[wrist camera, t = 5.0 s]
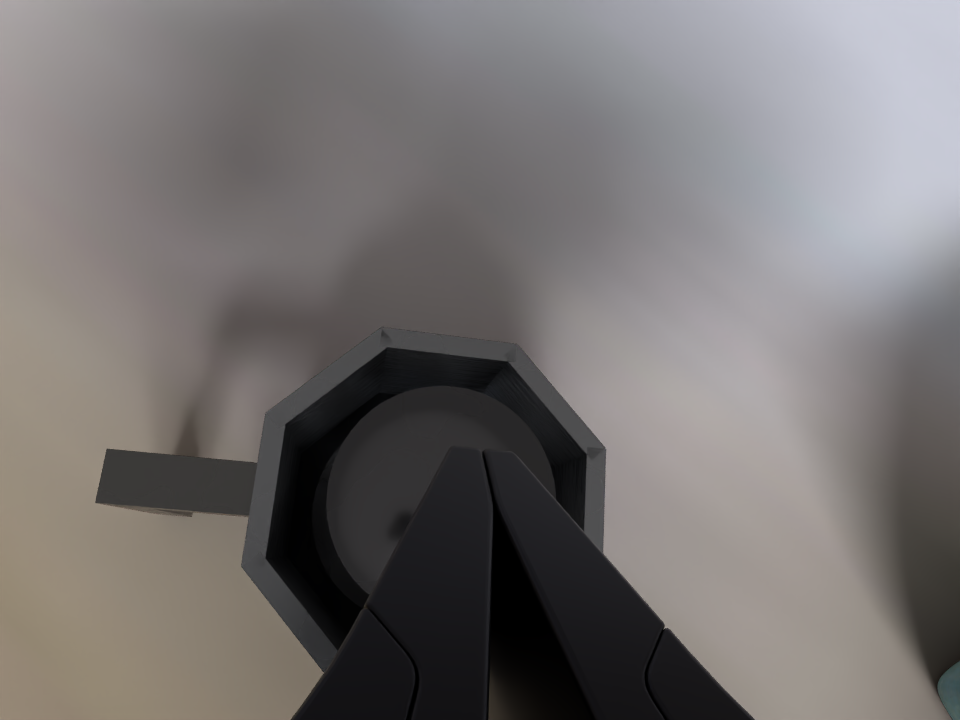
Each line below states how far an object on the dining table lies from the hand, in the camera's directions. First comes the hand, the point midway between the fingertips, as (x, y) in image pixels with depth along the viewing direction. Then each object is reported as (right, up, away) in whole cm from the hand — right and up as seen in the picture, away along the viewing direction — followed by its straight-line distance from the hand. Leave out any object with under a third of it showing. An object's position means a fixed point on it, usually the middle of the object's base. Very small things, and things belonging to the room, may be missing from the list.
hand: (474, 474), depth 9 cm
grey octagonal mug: (-3, -2, +9) cm, 10 cm away
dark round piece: (-2, -2, +8) cm, 9 cm away
